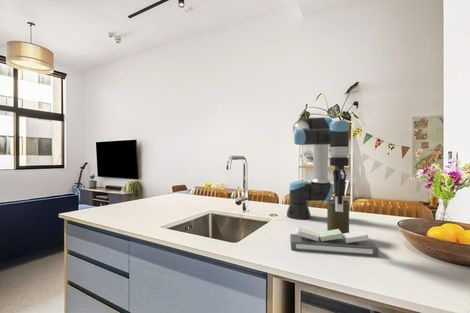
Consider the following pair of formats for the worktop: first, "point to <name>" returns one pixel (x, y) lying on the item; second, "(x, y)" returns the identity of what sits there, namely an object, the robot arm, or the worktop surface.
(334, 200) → the canister
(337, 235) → the rocker mid
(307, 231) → the block
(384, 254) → the worktop surface
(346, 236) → the block
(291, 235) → the rocker switch panel
